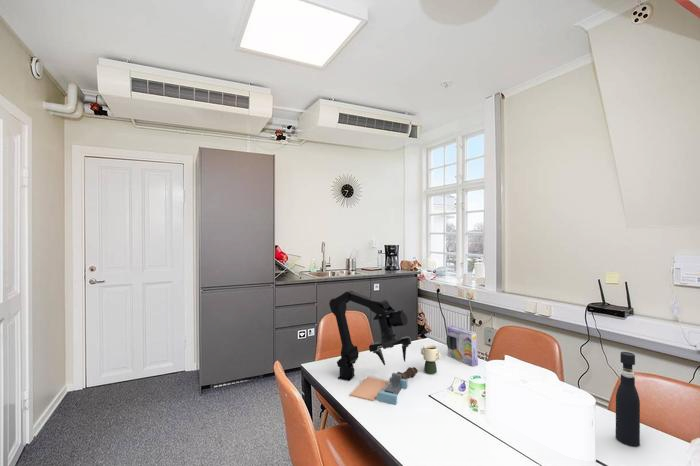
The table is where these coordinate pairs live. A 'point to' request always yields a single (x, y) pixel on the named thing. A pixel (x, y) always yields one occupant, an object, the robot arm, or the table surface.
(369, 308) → the robot arm
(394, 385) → the crook bar
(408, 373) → the brown oblong lump
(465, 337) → the cake pan box
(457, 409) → the table surface
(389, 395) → the vise jaws
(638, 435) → the black bottle
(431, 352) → the character mug
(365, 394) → the mat
